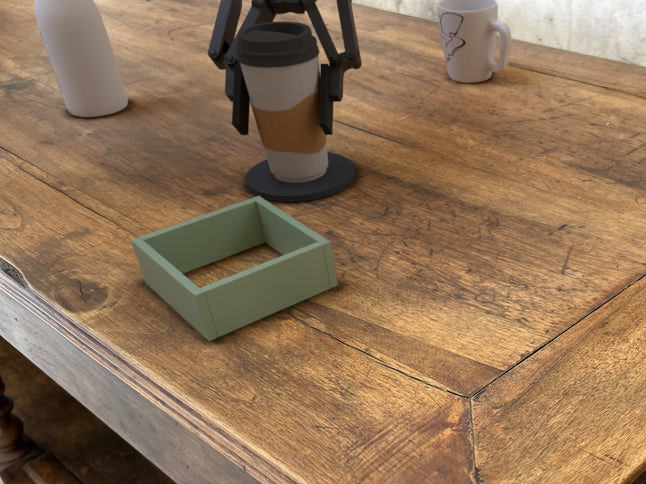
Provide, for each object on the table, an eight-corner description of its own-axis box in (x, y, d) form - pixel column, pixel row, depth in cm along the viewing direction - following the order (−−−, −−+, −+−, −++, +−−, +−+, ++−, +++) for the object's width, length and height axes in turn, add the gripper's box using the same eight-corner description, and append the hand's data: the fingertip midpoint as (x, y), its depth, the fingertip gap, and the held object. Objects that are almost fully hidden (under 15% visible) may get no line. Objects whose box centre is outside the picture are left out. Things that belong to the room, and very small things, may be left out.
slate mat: (227, 178, 91) (226, 171, 90) (318, 148, 97) (317, 142, 96) (282, 213, 84) (280, 206, 83) (375, 179, 90) (375, 172, 89)
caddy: (145, 283, 73) (130, 239, 70) (268, 237, 80) (258, 195, 77) (209, 341, 66) (194, 295, 63) (338, 285, 72) (330, 241, 70)
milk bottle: (141, 104, 109) (92, -60, 97) (91, 122, 104) (32, -48, 92) (106, 95, 113) (53, -65, 100) (56, 111, 108) (-6, -55, 95)
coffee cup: (297, 151, 94) (272, 16, 85) (353, 165, 91) (333, 26, 81) (246, 177, 89) (213, 36, 79) (303, 194, 85) (275, 48, 76)
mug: (526, 77, 117) (527, 4, 110) (492, 94, 111) (490, 17, 105) (465, 63, 122) (462, -8, 116) (429, 78, 117) (424, 5, 110)
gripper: (394, -51, 89) (389, 143, 87) (207, -50, 90) (198, 144, 87) (381, -99, 82) (376, 113, 79) (178, -97, 82) (166, 114, 80)
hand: (282, 129), depth 83 cm, fingers closed on coffee cup, 8 cm apart
